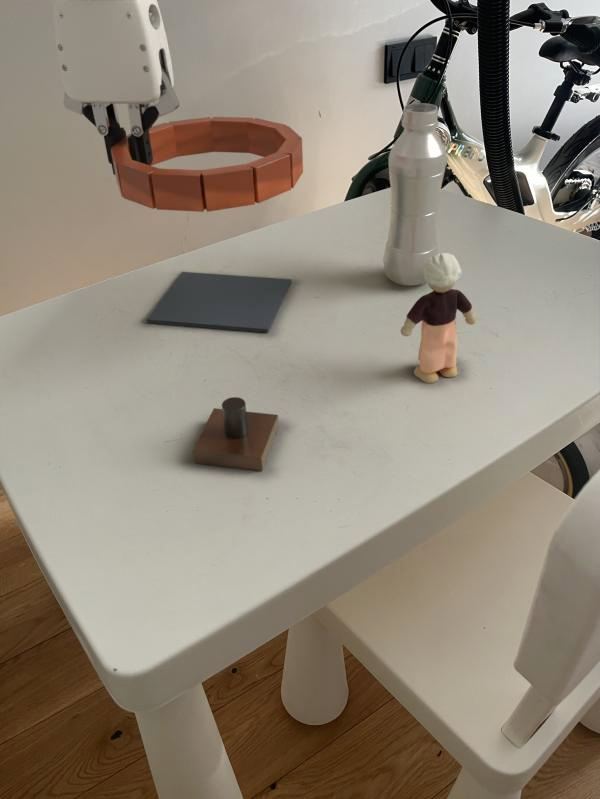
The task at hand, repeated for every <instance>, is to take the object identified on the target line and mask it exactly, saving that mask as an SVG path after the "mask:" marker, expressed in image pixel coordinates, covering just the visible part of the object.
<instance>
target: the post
mask: <svg viewBox="0 0 600 799" xmlns="http://www.w3.org/2000/svg"><path fill="white" fill-rule="evenodd" d="M279 427H280V425H279V415H278V414H273V413H263V412H255V411H247V405H246V401H245V399H243V398H241V397H239V396H238V397H237V396H233V397H229V398H226V399H225V400H223V402H222V403H221V408H215V407H214V408H213V409H212V411H211V413H210V415H209V417H208V419H207V421H206V423H205V425H204V427H203V429H202V431H201V433H200V434H199V437H198V439H197V441H196V442H195V445H194V446H193V449H192V453H193V459H194V463H195V464H200V465H209V466H217V467H226V468H234V469H242V470H252V471H259V472H263V471H264V468H265V465H266V462H267V461H268V458H269V454H270V452H271V449H272V447H273V444H274V441H275V439H276V435H277V433H278V430H279Z"/></svg>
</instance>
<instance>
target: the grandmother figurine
mask: <svg viewBox="0 0 600 799" xmlns="http://www.w3.org/2000/svg"><path fill="white" fill-rule="evenodd" d="M423 273H424V276H425V280H426V282H425V283H427V285H428V287H429V288H430V289H431V290H432V291H431V292H429V293H426V294H424V295H422V296H420V297H419V298H418V299H417V300H416V301H415V303H414V304H413V305H412V307H411V308H410V310H409V311H408V313H407V314H406V318H405V320H404V323H403V325H402V327H400V334H401V335H402V336H403V337H410V336H411V335H412V332H413V329H415V327H416V325H417V324H419V323H421V329H420V330H421V333H420V334H421V335H420V342H419V348H418V357H417V359H418V361H419V365H417V366H416V367H415V369H414V370H413V374H414V375H415V376H416V377H417V378H418V379H419V380H421V381H423V382H424V383H427V384H434V383H436V382H438V381H439V376H438V374H437V372H439V373H440V375H441V376H443V377H445V378H454V377H456V376H457V375H458V368H457V354H458V337H457V321H456V320H457V319H456V318H457V310H458V311H459V312H460V313H461V314H462V317H464V321H465V323H466V324H467V325H471V326H472V325H474V324H476V322H477V317H476V315H475V312H474V309H473V305H472V303H471V302H470V300H469V299H468V297H467V296H466V295H465V294H464V293H463V292H462V291H461V290H459V289H454V288H453V287H454V286H455V284H456V282H458V281H459V280H460V279H461V276H462V268H461V266H460V264H459V261H458V259H457V258H456V257H455V255H453V254H452V253H448V252H438V253H437V254H436V255H434V256H432V257H430V258H429V259H428V260H427V262H426V264H425V268H424V271H423Z"/></svg>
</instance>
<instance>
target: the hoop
mask: <svg viewBox="0 0 600 799" xmlns="http://www.w3.org/2000/svg"><path fill="white" fill-rule="evenodd" d="M131 135H132V134H131V133H129V134H126V137H125V138H123V139H122V140H121V141H119V142H118V143H117V144H115V145H114V146H113V147H112V148H111V154H112V160H113V165H114V170H115V175H114V177H115V180H116V181H115V182H116V185H117V186H118V191H119V193H120V196H121V197H122V198H123V199H124V200H128V201H130V202H133V203H135V204H138V205H142V206H144V207H147V208H149V209H151V210H154V209H156V210H160V211H178V212H179V211H181V212H199V213H203V212H204V211H206V212H207V213H208V212H216V211H221V210H227V209H235V208H241V207H248V206H255V205H256V204H260V203H263V202H265V201H268V200H270V199H272V198H274V197H277V196H279V195H281V194H282V195H283V194H284V193H287V192H288V191H292V189H294V188H295V186H296V184H297V183H298V181H299V180H300V178H301V176H302V175H303V173H304V159H303V158H304V156H303V138H302V137H301V136H300V135H299V134H298V133H297V132H296V131H295V130H294V129H293V128H292V127H290V126H289V125H287V124H285V123H284V124H283V123H279V122H276V121H271V120H267V119H262V118H259V117H258V118H257V117H255V118H253V117H238V116H237V117H235V116H212V117H210V116H206V117H197V118H189V119H181V120H173V121H168V122H163V123H160V124H157V125H152V127H151V128H150V129H149V136H150V142H151V149H152V155H153V162H152V164H151V166H150V165H147V164H144V163H140V162H137V161H134V160H132V158H131V153H130V147H129V145H128V137H130V136H131ZM209 153H237V154H251V155H256V156H258V157H261V158H257V159H255V160H252V161H250V162H248V163H243V164H235V165H229V166H221V167H214V168H207V169H183V168H182V169H180V168H159V167H156V166H155V165H157V164H161V163H163V162H166V161H170V160H172V159H175V158H181V157H186V156H194V155H201V154H209Z"/></svg>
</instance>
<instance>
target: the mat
mask: <svg viewBox="0 0 600 799" xmlns="http://www.w3.org/2000/svg"><path fill="white" fill-rule="evenodd" d="M291 285H292V279H291V278H290V279H289V278H279V277H278V278H277V277H265V276H264V277H263V276H261V277H260V276H248V275H235V274H234V275H233V274H218V273H204V272H189V271H182V272H180V274H178V276H177V278H176V279H175V280H174V282H173V283H172V285H171V286H170V287H169V289H168V290H167V291H166V292H165V294H164V295H163V296H162V297H161V299H160V301H159V302H157V304H156V306H155V307H154V309H153V310H152V311H151V312H150V314H149V315H148V317H147V318H146V323H147V324H156V325H157V324H158V325H166V326H167V325H168V326H169V325H170V326H181V327H192V328H203V329H205V328H206V329H215V330H216V329H218V330H227V331H241V332H251V333H264V334H268V333H269V331H270V329H271V327H272V325H273V323H274V321H275V319H276V316H277V315H278V313H279V310H280V308H281V306H282V304H283V302H284V300H285V297H286V296H287V293H288V291H289V289H290V287H291Z"/></svg>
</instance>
